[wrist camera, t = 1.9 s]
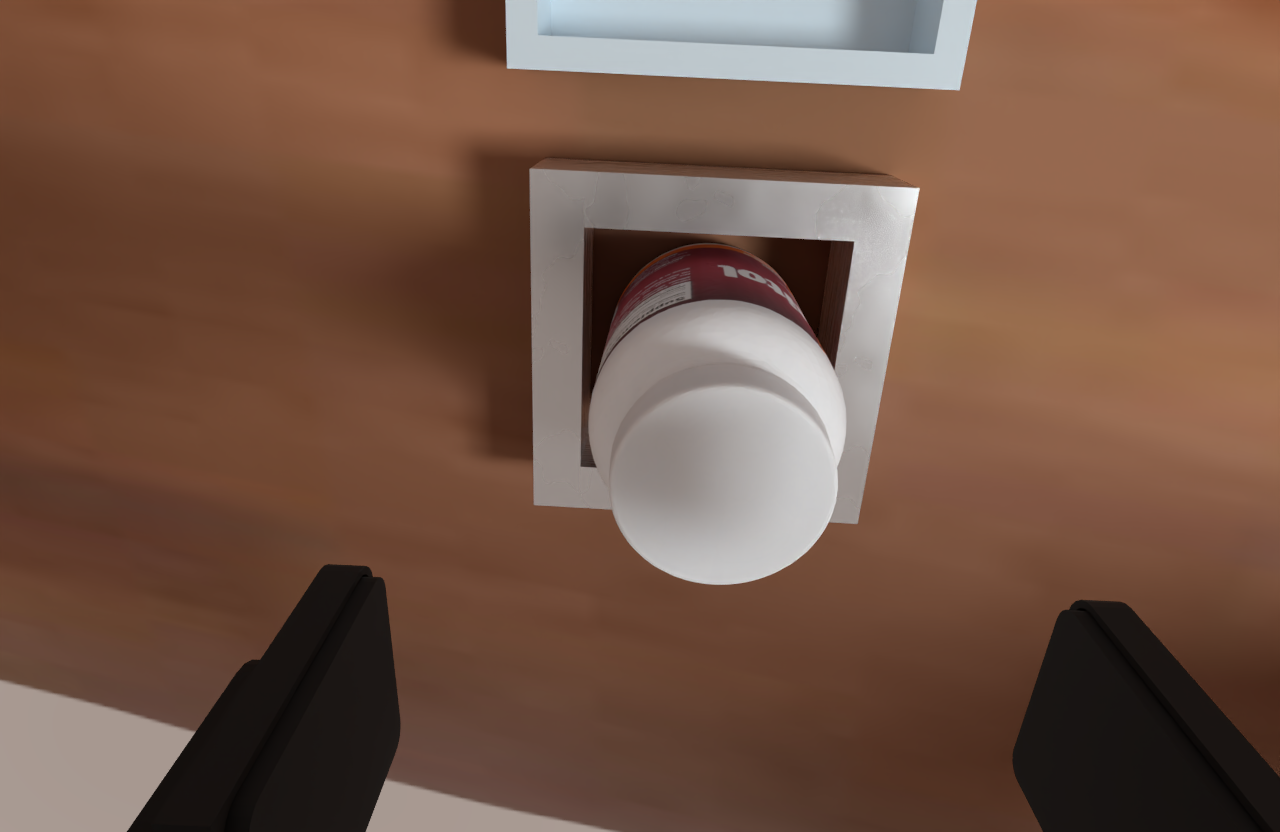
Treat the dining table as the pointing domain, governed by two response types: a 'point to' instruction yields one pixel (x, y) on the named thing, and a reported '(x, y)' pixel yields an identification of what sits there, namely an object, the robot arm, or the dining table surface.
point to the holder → (708, 204)
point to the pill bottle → (716, 418)
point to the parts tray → (748, 39)
